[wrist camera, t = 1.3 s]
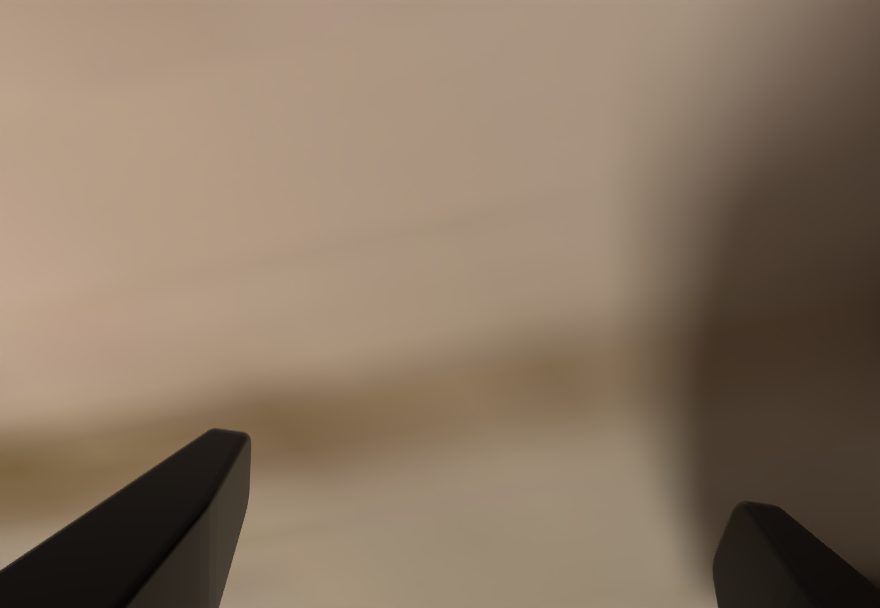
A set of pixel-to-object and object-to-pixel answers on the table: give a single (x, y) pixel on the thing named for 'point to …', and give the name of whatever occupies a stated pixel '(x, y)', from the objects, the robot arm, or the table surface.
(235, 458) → the robot arm
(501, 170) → the table surface
